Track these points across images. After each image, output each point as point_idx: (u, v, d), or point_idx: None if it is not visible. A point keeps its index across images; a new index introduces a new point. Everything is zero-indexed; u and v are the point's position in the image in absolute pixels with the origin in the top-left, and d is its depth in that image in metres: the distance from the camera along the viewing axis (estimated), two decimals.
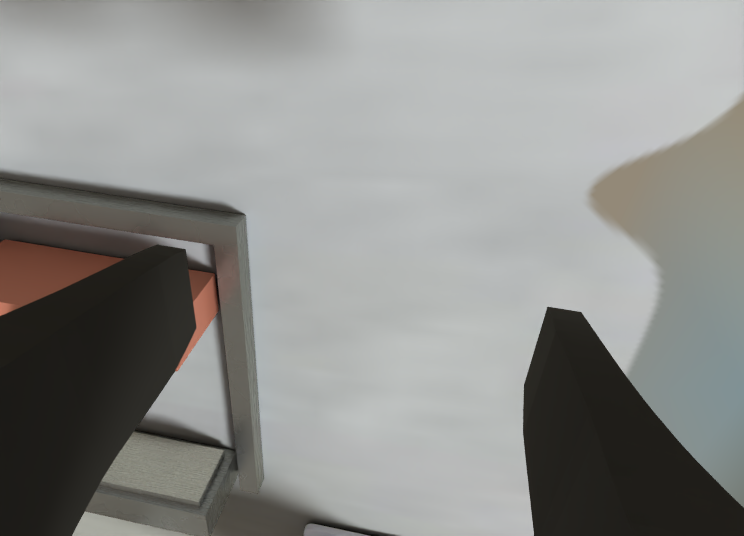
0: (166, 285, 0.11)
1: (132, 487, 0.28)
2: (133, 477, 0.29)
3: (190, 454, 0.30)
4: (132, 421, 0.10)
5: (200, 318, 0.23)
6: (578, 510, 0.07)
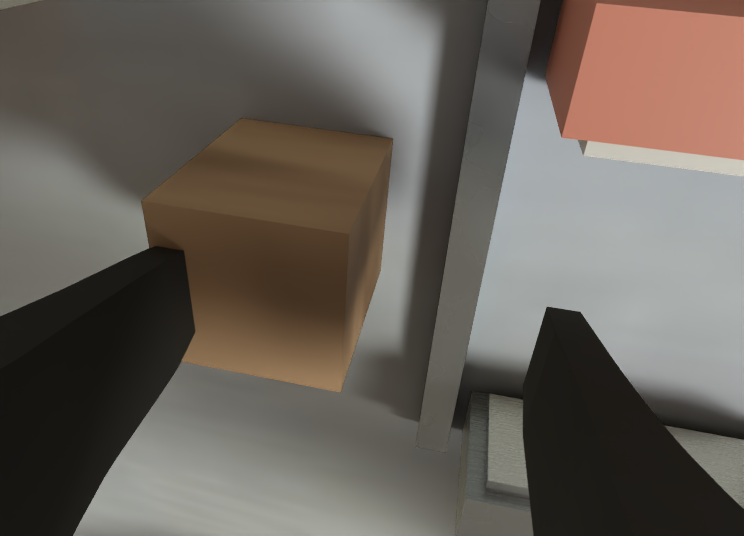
0: (167, 285, 0.11)
1: None
2: None
3: None
4: (133, 421, 0.10)
5: None
6: (577, 510, 0.07)
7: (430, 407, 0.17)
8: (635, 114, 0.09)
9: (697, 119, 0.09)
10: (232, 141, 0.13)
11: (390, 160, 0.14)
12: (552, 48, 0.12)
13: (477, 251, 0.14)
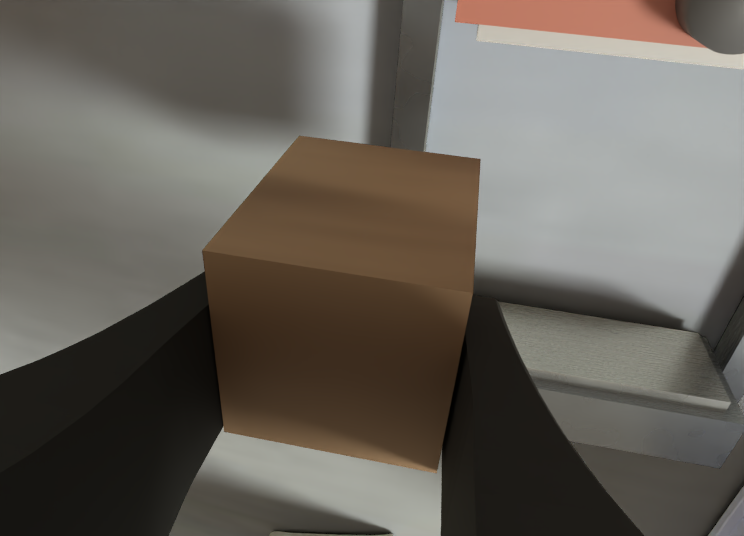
0: None
1: (607, 381, 0.17)
2: (596, 367, 0.17)
3: (653, 337, 0.19)
4: (211, 437, 0.10)
5: None
6: (459, 486, 0.07)
7: None
8: (508, 0, 0.11)
9: (554, 2, 0.11)
10: (296, 166, 0.11)
11: None
12: None
13: None
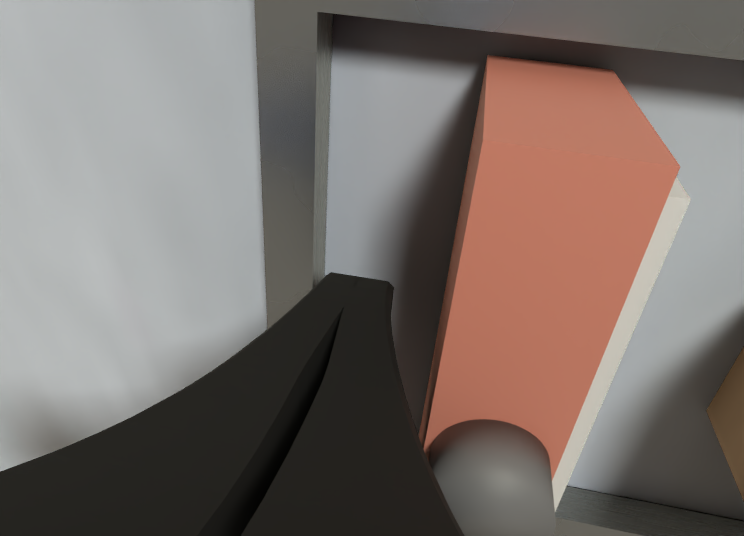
0: None
1: None
2: None
3: None
4: None
5: (570, 92, 0.08)
6: None
7: None
8: None
9: None
10: (739, 456, 0.11)
11: None
12: None
13: None
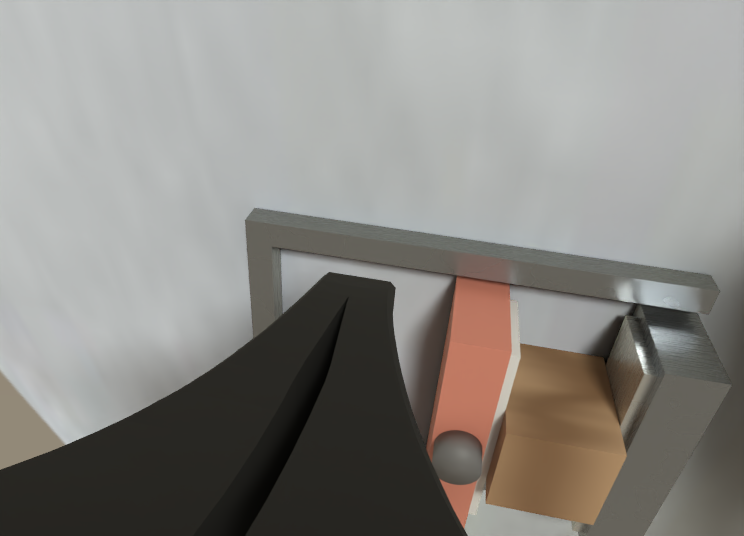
0: None
1: None
2: None
3: (615, 358, 0.21)
4: None
5: (486, 305, 0.20)
6: None
7: None
8: (455, 512, 0.23)
9: (457, 498, 0.23)
10: None
11: None
12: None
13: None
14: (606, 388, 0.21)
